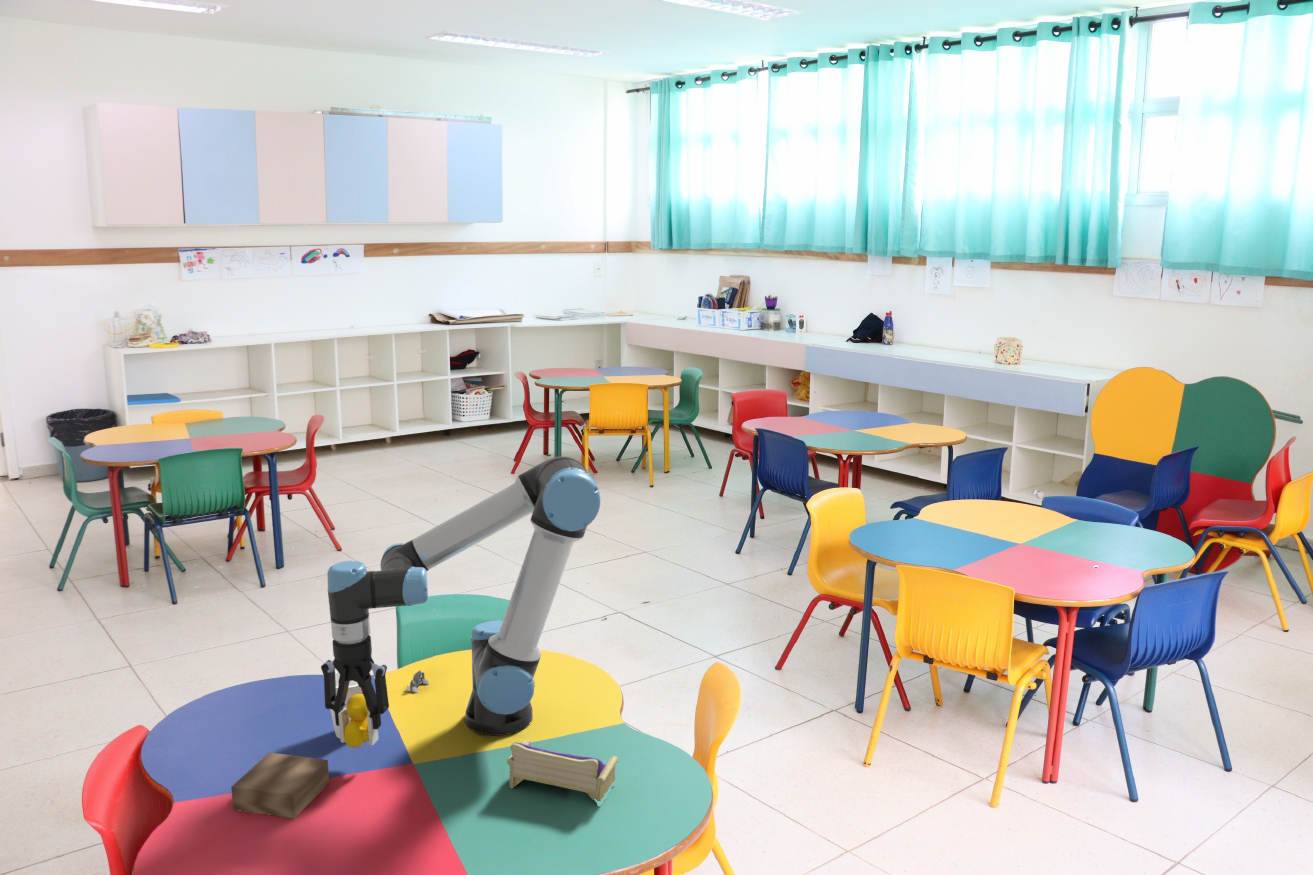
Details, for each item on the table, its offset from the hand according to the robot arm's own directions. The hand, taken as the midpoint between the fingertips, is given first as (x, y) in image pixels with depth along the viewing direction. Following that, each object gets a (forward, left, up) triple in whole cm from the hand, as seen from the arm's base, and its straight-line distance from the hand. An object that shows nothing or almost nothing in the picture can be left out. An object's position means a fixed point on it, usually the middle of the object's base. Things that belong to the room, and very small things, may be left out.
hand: (359, 740), depth 213 cm
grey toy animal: (+3, -40, -6) cm, 40 cm away
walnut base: (+10, +14, -5) cm, 18 cm away
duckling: (0, 0, -1) cm, 1 cm away
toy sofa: (-43, -1, -6) cm, 44 cm away
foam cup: (+9, -12, -6) cm, 16 cm away
